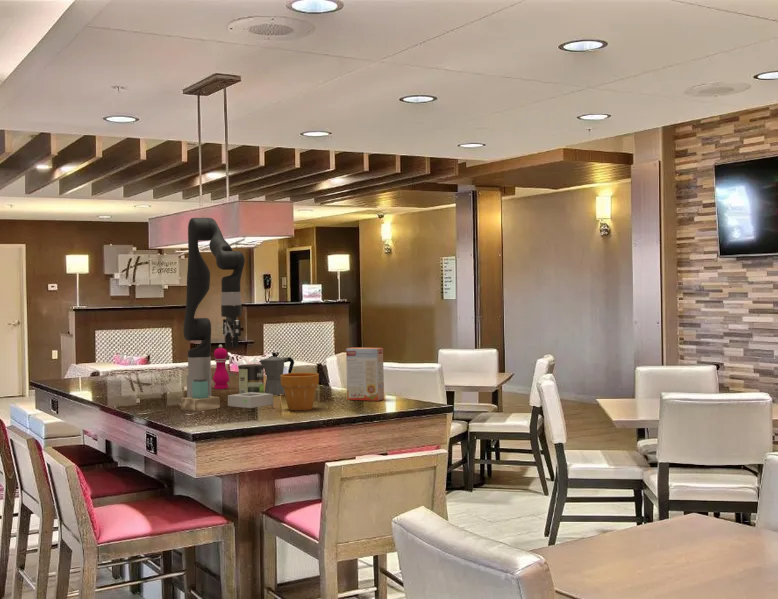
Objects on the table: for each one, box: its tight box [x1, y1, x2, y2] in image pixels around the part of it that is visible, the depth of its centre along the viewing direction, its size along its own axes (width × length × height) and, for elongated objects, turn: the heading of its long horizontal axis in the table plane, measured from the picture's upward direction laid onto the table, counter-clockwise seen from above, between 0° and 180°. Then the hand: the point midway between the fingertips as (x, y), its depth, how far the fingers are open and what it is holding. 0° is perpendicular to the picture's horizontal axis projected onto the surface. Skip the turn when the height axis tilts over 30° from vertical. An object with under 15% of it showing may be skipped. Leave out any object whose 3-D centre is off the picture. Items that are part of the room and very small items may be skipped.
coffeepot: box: [258, 351, 295, 395], centre depth 386 cm, size 15×9×18 cm, turn 113°
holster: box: [180, 395, 221, 412], centre depth 338 cm, size 10×10×5 cm
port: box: [227, 392, 274, 409], centre depth 345 cm, size 12×12×5 cm
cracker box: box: [345, 347, 385, 402], centre depth 364 cm, size 14×6×21 cm, turn 65°
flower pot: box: [281, 372, 320, 411], centre depth 339 cm, size 14×14×13 cm
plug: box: [192, 379, 208, 399], centre depth 338 cm, size 4×4×11 cm
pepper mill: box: [212, 344, 230, 390], centre depth 413 cm, size 7×7×20 cm
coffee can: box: [237, 363, 265, 394], centre depth 370 cm, size 10×10×14 cm
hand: (231, 347), depth 343 cm, fingers open, 8 cm apart
